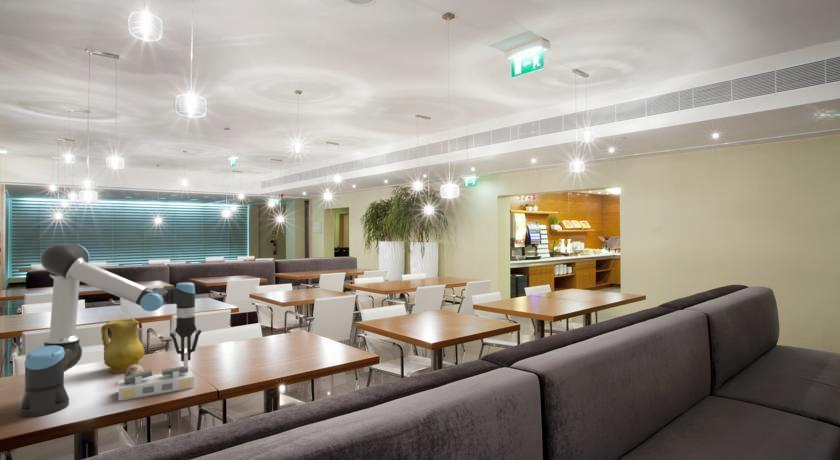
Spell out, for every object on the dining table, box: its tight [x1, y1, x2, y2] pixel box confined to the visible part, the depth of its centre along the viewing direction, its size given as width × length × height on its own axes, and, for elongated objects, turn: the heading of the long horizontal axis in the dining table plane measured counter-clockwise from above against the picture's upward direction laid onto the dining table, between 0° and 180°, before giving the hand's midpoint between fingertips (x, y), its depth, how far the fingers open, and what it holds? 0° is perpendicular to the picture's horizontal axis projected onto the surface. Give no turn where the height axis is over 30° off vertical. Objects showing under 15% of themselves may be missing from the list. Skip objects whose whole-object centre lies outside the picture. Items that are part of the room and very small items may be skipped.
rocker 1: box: [123, 369, 153, 384], centre depth 189 cm, size 10×5×2 cm, turn 124°
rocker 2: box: [161, 365, 189, 376], centre depth 197 cm, size 10×5×2 cm, turn 125°
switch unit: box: [118, 366, 195, 401], centre depth 193 cm, size 28×12×8 cm, turn 125°
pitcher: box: [100, 318, 145, 374], centre depth 221 cm, size 17×19×25 cm
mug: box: [124, 364, 145, 377], centre depth 206 cm, size 8×10×10 cm
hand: (185, 367), depth 200 cm, fingers closed
